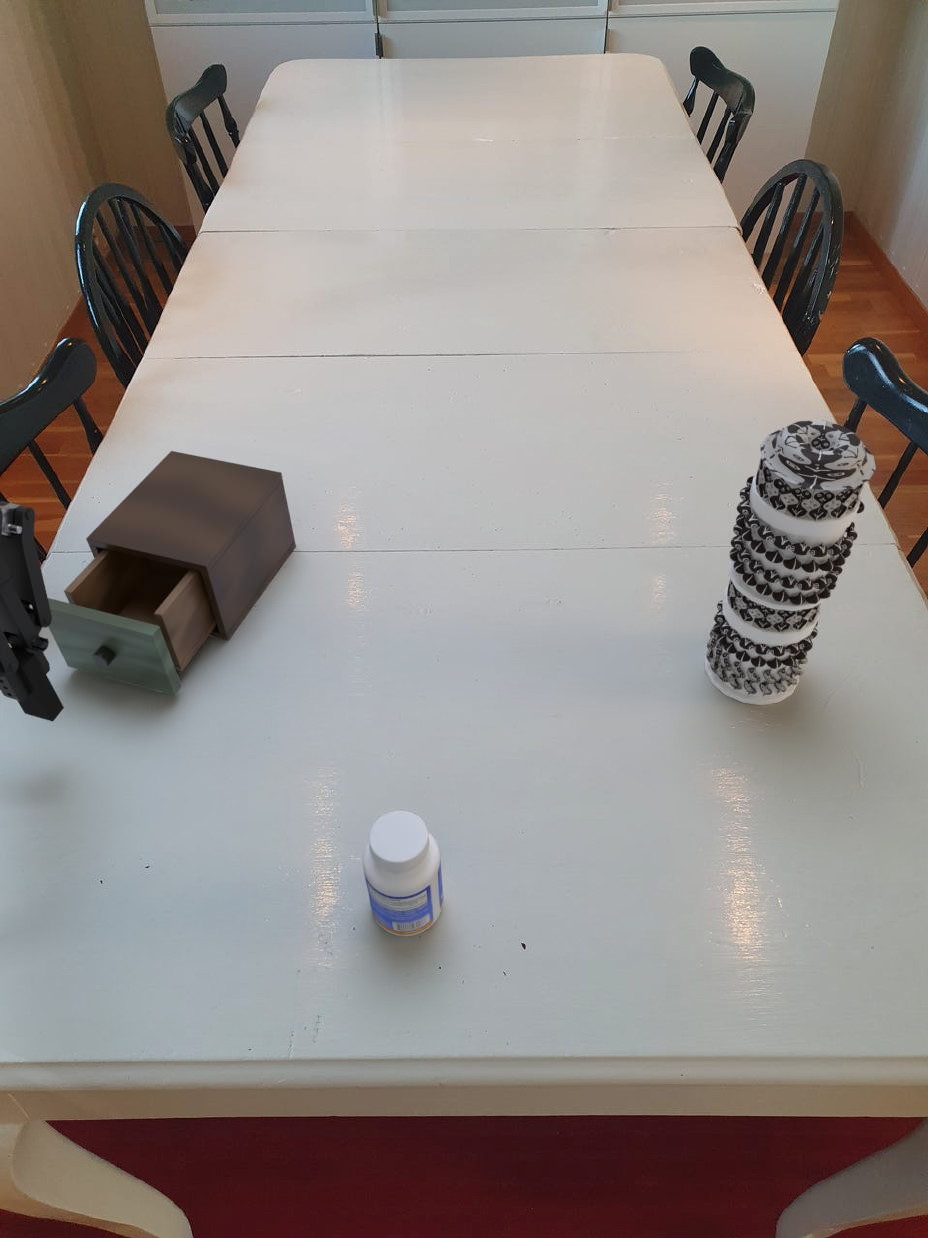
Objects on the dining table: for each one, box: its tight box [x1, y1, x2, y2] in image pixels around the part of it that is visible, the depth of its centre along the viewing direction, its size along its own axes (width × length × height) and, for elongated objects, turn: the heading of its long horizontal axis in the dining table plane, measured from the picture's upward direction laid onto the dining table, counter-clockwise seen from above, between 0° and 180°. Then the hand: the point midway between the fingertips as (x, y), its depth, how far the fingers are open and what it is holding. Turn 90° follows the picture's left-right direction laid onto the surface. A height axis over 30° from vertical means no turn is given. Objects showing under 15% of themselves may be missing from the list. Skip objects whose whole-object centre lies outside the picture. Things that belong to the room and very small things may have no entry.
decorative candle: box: [704, 419, 877, 706], centre depth 74 cm, size 9×9×25 cm
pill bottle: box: [361, 810, 444, 937], centre depth 64 cm, size 5×5×10 cm
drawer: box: [47, 549, 217, 696], centre depth 84 cm, size 15×11×8 cm
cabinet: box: [85, 450, 297, 641], centre depth 90 cm, size 15×13×10 cm
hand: (44, 710), depth 73 cm, fingers closed
